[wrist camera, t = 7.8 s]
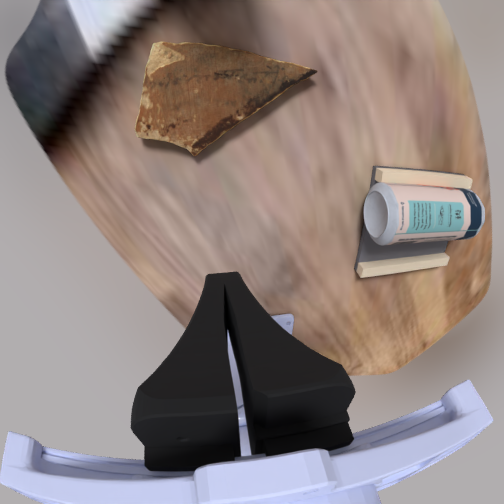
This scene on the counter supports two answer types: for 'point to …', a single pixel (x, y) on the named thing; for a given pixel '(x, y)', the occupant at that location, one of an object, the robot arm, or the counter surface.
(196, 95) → the shard
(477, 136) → the counter surface
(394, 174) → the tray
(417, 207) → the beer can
